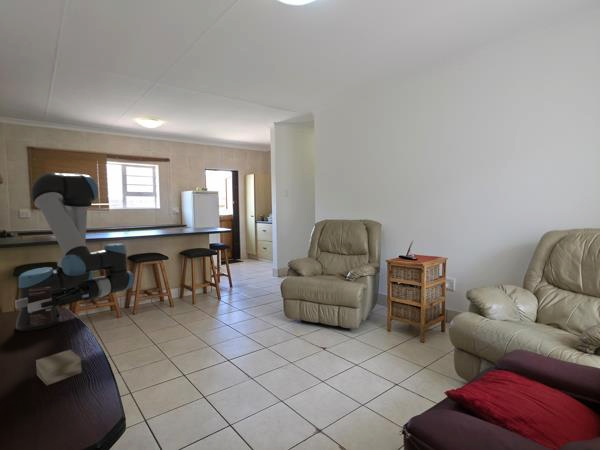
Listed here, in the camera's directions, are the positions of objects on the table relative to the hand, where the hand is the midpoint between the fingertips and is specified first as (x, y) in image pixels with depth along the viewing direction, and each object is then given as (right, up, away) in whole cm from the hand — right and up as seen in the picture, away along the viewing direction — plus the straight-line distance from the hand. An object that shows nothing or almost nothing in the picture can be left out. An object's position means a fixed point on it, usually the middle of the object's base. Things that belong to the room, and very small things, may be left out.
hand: (22, 306), depth 106 cm
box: (+2, -7, +5) cm, 9 cm away
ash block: (+13, -21, -2) cm, 25 cm away
